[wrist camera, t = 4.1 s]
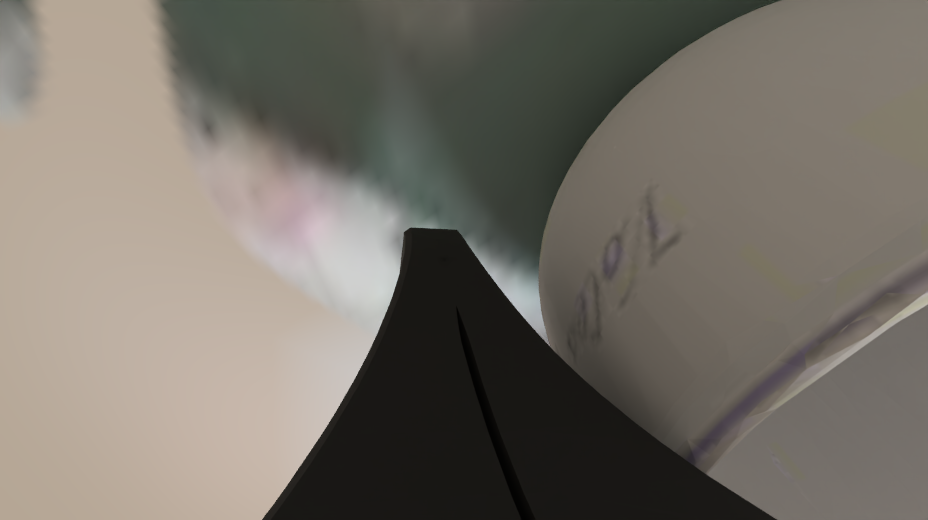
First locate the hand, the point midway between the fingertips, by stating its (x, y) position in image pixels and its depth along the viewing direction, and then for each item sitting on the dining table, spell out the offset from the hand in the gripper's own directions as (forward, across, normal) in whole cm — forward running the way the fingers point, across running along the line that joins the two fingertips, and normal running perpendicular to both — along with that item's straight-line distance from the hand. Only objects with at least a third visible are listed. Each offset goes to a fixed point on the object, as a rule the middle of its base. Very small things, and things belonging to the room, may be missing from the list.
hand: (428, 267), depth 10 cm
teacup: (+3, -8, 0) cm, 9 cm away
